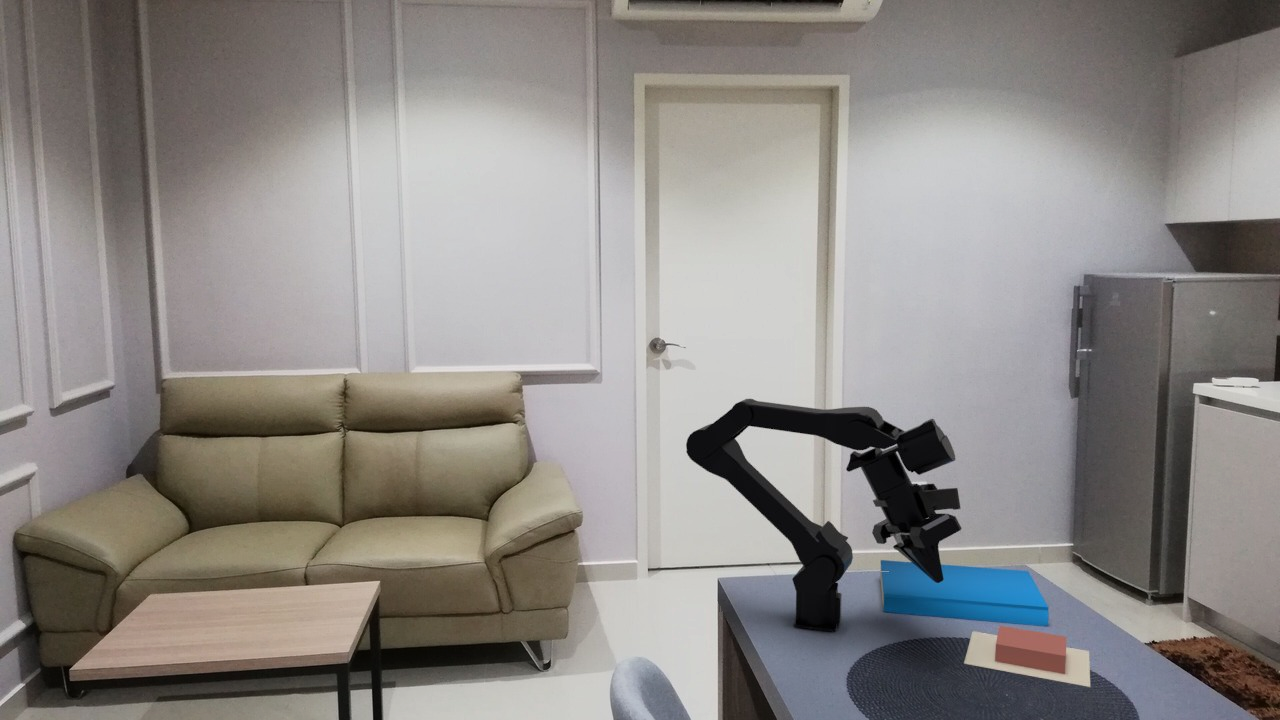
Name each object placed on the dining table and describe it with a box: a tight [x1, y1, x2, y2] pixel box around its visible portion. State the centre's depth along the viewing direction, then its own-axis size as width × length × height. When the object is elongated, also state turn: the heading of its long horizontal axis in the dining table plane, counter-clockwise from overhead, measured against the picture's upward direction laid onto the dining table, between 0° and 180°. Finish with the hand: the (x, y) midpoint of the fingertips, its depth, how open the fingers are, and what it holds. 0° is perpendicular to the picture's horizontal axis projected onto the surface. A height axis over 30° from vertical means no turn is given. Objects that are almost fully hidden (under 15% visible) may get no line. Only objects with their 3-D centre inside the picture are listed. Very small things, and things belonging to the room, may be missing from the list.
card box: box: [995, 625, 1067, 674], centre depth 128 cm, size 3×7×9 cm
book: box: [879, 559, 1050, 627], centre depth 150 cm, size 17×4×25 cm
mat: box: [963, 631, 1091, 688], centre depth 128 cm, size 16×12×1 cm
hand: (939, 581), depth 133 cm, fingers closed
